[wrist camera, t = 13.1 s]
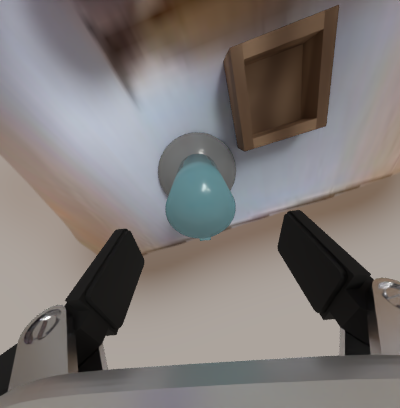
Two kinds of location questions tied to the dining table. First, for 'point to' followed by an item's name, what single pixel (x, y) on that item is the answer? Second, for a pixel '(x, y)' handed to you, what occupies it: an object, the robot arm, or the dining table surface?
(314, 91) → the cradle
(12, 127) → the dining table surface
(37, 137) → the dining table surface
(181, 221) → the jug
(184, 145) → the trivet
